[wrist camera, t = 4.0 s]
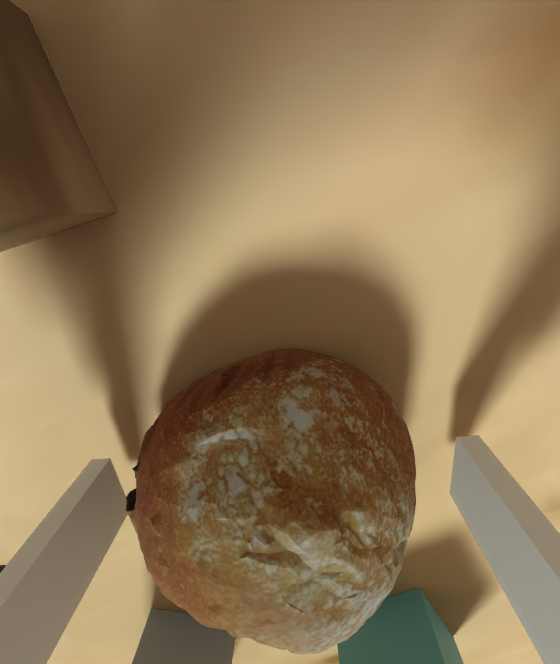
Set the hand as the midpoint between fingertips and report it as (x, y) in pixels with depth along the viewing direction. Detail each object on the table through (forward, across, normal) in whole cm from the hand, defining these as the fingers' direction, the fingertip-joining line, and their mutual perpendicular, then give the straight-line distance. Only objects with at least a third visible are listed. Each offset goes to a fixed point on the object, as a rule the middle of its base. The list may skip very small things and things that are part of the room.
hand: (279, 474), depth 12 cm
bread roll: (+2, 0, 0) cm, 2 cm away
